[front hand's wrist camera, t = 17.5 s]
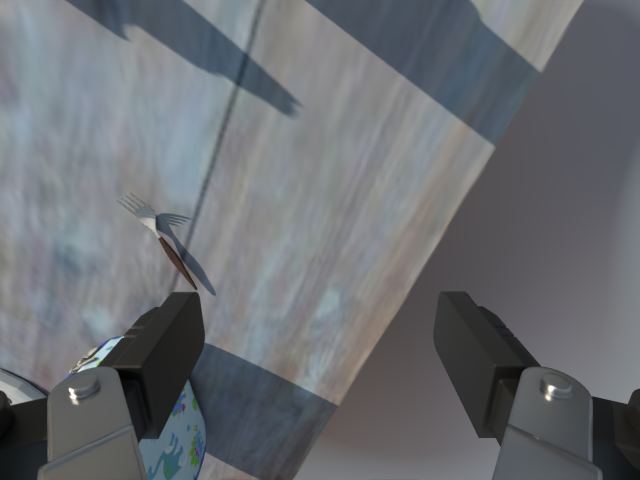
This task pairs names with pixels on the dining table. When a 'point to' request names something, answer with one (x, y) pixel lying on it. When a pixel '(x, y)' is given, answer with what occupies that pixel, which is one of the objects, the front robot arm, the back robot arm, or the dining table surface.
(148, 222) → the fork
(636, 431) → the front robot arm
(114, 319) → the dining table surface
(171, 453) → the lunch box
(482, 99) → the dining table surface
